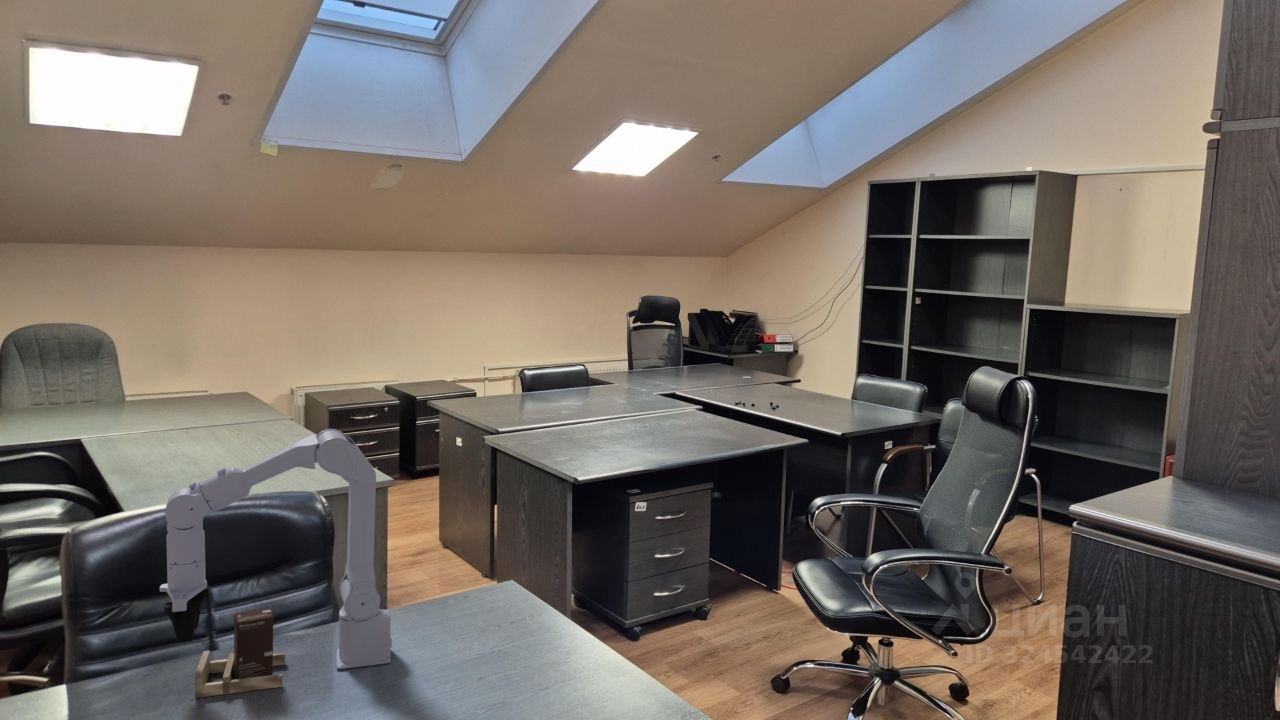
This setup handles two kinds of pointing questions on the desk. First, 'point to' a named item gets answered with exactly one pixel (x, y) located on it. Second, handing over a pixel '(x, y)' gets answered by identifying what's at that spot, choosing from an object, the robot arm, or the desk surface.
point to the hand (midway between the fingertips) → (187, 635)
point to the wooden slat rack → (228, 683)
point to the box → (253, 644)
